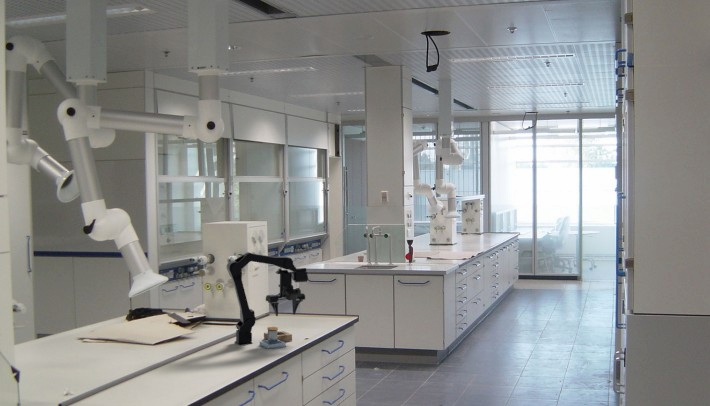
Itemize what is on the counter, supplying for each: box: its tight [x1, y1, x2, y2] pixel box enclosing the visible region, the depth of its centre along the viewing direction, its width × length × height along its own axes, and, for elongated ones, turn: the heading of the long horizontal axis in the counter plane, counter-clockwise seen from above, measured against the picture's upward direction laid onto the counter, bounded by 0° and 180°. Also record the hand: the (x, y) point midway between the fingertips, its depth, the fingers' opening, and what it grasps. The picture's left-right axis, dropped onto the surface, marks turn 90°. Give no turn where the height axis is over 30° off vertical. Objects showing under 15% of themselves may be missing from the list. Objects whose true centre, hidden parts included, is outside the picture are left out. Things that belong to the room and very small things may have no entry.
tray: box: [259, 340, 287, 350], centre depth 339 cm, size 9×9×2 cm
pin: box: [266, 326, 279, 345], centre depth 339 cm, size 5×5×8 cm
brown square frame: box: [263, 330, 293, 343], centre depth 352 cm, size 10×10×3 cm
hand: (285, 315), depth 352 cm, fingers open, 9 cm apart
